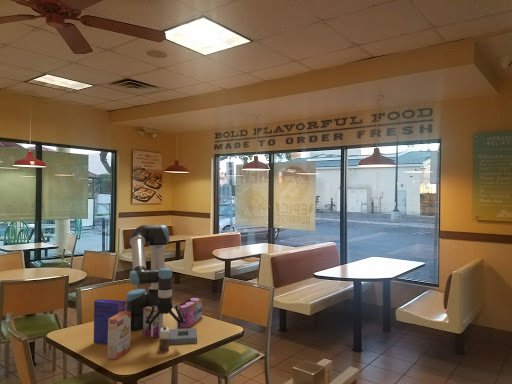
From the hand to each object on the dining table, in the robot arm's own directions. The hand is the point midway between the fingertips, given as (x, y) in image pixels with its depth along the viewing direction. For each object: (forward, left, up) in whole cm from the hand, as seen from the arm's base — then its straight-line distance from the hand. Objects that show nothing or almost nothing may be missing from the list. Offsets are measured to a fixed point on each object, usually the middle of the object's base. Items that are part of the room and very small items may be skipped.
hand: (164, 335), depth 217 cm
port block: (+10, +12, -7) cm, 17 cm away
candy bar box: (-8, +20, -7) cm, 23 cm away
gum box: (+14, +43, -7) cm, 46 cm away
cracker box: (-23, -6, -7) cm, 25 cm away
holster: (0, 0, -7) cm, 7 cm away
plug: (0, 0, -7) cm, 7 cm away
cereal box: (-31, +11, -7) cm, 34 cm away
